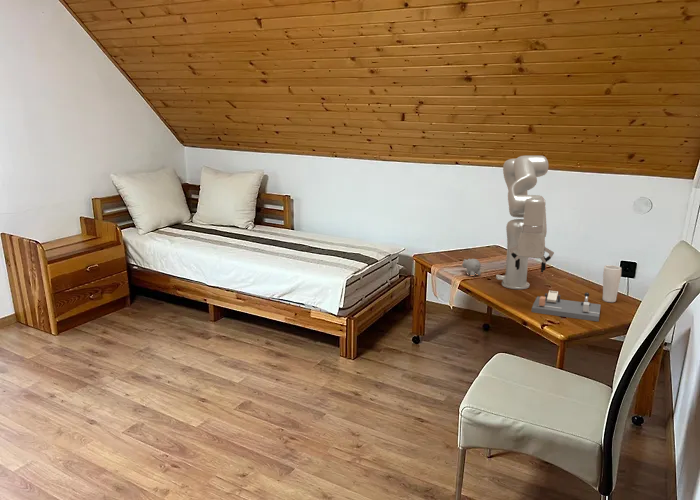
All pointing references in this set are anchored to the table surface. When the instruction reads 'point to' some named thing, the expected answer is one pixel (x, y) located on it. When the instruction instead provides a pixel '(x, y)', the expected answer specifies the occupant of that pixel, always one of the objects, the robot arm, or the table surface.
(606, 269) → the drinking glass
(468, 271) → the toy rhinoceros
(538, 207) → the robot arm
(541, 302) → the slide paddle
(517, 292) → the table surface
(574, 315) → the switch panel
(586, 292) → the toggle lever
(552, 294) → the rocker switch
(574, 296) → the table surface
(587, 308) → the slide paddle
